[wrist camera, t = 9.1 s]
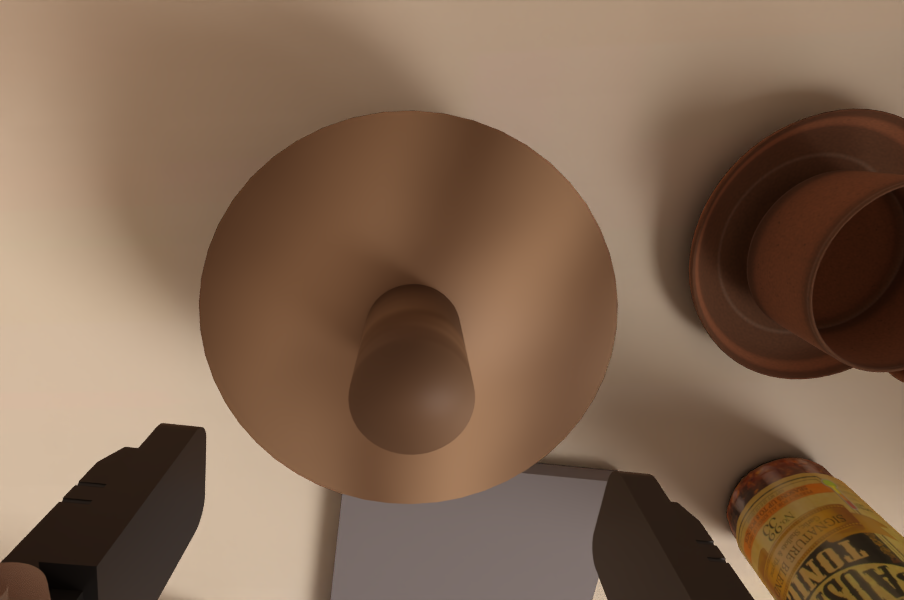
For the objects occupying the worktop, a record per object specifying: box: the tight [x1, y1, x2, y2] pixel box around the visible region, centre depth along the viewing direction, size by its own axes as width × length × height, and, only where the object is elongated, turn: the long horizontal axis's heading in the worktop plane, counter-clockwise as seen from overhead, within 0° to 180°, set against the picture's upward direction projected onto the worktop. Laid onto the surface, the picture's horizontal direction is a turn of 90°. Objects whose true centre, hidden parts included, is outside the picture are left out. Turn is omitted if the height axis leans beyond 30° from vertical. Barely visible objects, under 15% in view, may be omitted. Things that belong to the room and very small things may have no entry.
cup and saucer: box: [689, 109, 904, 382], centre depth 23 cm, size 12×12×6 cm
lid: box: [199, 111, 618, 504], centre depth 17 cm, size 14×14×6 cm
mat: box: [331, 463, 613, 600], centre depth 30 cm, size 14×14×1 cm
